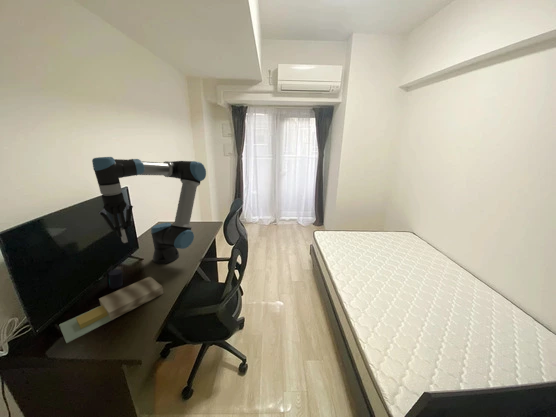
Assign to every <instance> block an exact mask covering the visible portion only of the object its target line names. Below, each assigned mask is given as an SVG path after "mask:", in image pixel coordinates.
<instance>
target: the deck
mask: <svg viewBox="0 0 556 417" xmlns="http://www.w3.org/2000/svg"><path fill="white" fill-rule="evenodd" d="M164 293H165V292H164V288H163V286H162V284H160V283H159V282H158V281H156V279H154V278H152V277H151V276H148V277H145V278H142V279H141V280H138V281H136V282H134V283H132V284H129V285H127V286H125V287H122V288H120V289H118V290H116V291H113V292H111V293H109V294H106V295H103V296H102V297H100V298H98V300H99V301H98V302H99V304H100V305H99V306H103V307H104V309H105V310H106V311H107V314H108V316H109V318H110V319H111V321H113V320H115V319H116V318H119V317H121V316H123V315H124V314H127V313H128V312H131V311H133V310H134V309H136V308H138V307H140V306H142V305H143V304H147V303H148V302H150V301H152V300H154V299H155V298H158V297H160V296H162V295H163V294H164Z"/></svg>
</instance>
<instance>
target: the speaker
mask: <svg viewBox="0 0 556 417" xmlns="http://www.w3.org/2000/svg"><path fill="white" fill-rule="evenodd" d="M106 283H107V284H106V286H107V289H113V290H114V289H119V288H121V287H122V286H123V284H124V283H123V270H122V269H119V268H117V269H114V268H113V265H110V267H109V268H108V269H107V270H106Z"/></svg>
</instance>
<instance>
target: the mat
mask: <svg viewBox="0 0 556 417" xmlns="http://www.w3.org/2000/svg"><path fill="white" fill-rule="evenodd" d="M100 306H101V305H99V306H97V307H95V308H92V309H90V310H89V311H85V312H84V313H81V314H79V315H77V316H75V317H73V318H70V319H68V320H66V321H64V322H62V323H61V322H60V324H59V325H58V326H59V328H60V331H61V333H62V335H63V338H64V341H65V343H66V344H68V343H71V342H72V341H74V340H76V339H79V338H80V337H82V336H84V335H87V334H88V333H90V332H92V331H93V330H95V329H98V328H99V327H101V326H103V325H105V324H107V323H109V322H111V321H112V320H111V319H110V318H109V316H106V317H104V318H102V319H100V320H98V321H96V322H94V323H92V324H90V325H88V326H86V327H84V328H82V329H81V328H80V326H79V324H78V322H77V320H76V318H77V317H79V316H81V315H83V314H85V313H87V312H90V311H92V310H94V309H96V308H98V307H100Z"/></svg>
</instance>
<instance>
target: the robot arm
mask: <svg viewBox="0 0 556 417" xmlns="http://www.w3.org/2000/svg"><path fill="white" fill-rule="evenodd" d="M91 162H92V169H93V171H94V174H95V177H96V181H97V184H98V188H99V192H100V195H101V199H102V202H103V208H102V210H101V211H98V212H97V213H98V215H100V216H101V217H102V218H103V220H104V221H105V222H106V224H107V226H108V227H109V229H110V230H111V231H113V232H115V231H116V234H117V236H118V238H121V242H122V243H123V244H126V243H129V241H128V237H127V236H128V235H129V232H128V228H129V227H131V225H132V210H133V207H134V206H133V205H132V204H127V202H126V201H125V198H124V194H123V192H122V191H123V190H122V189H123V188H122V186H121V182H120V179H122V178H127V177H135V176H163V177H165V178H172V179H179V180H180V182H181V188H180V193H179V199H178V204H177V209H176V213H175V217H174V222H172V223H171V222H161V223H158V224H156V225H153V226H152V227H151V228H150V232H151V233H150V234H151V238H152V244H153V248H154V249H153V256H152V261H153V262H154V264H158V265H159V264H160V265H163V264H169V263H171V262H174V261H176V260H177V259H178V258H179V256H180V253H179V250H180V249H182V250H184V249H187V248H189V246H191V245H192V243H193V242H194V240H195V239H194V238H195V235H194V232H193V231H192V226H191V224H190V223H191V219H192V213H193V208H194V203H195V199H196V194H197V190H198V189H197V187H199V186H200V185H201V182H202V181H204V180H205V179H206V176H207V170H206V167H205V165H204V164H203V163H202V162H200V161H195V160H193V161H191V160H177V161H175V160H174V161H163V162H157V161H142V160H141V159H140V158H139V159H138V158H130V159H124V158H123V159H121V158H118V159H115V158H114V157H113V156H102V157H100V156H99V157H93V158H92V160H91ZM125 209H126V210H125ZM124 211H125V212H126V213H125V214H124ZM107 213H109V214H110V216H111V218H112V221H113V222H112V221H111V219H110V218H109V216H108V215H107ZM119 221H120V222H119ZM120 224H121V225H120ZM178 249H179V250H178Z"/></svg>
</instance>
